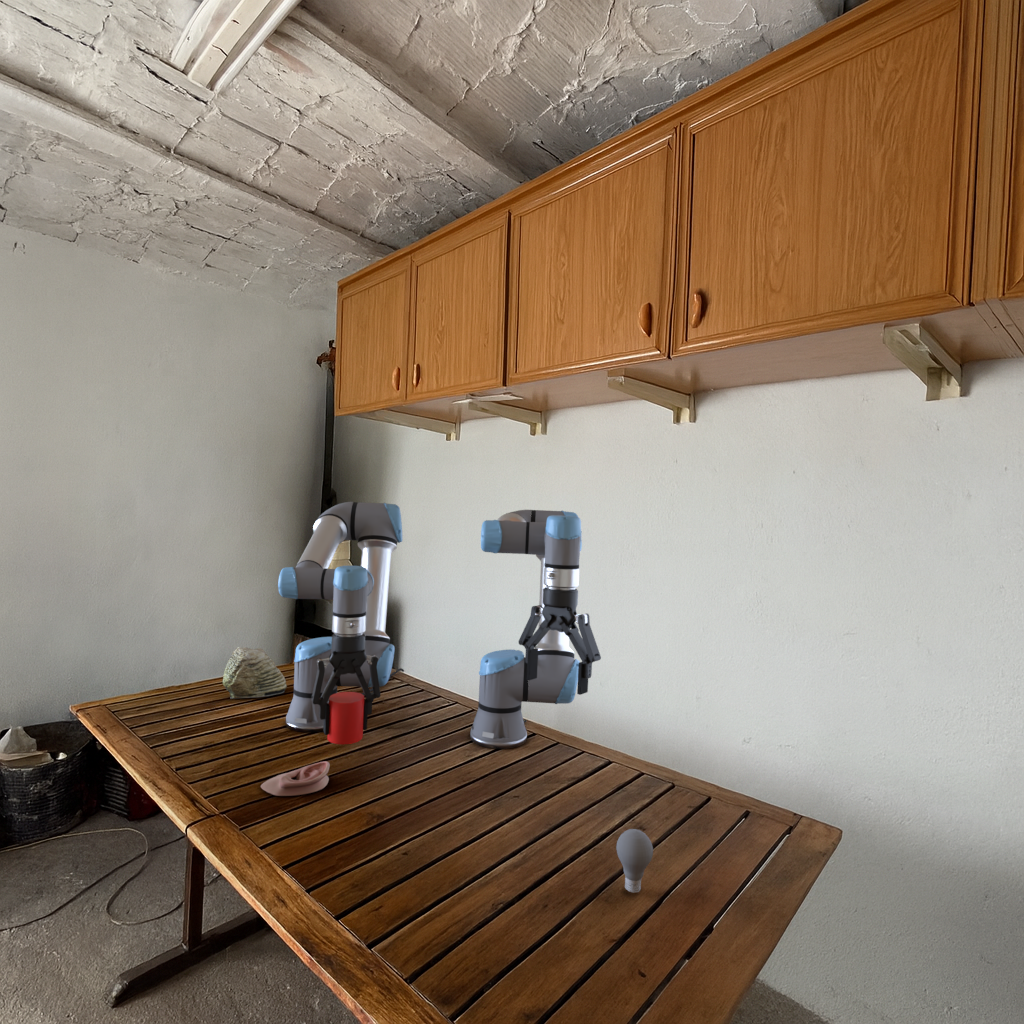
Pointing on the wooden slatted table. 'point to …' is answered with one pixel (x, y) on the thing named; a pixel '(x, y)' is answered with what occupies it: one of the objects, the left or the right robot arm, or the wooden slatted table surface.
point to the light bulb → (634, 857)
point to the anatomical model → (299, 780)
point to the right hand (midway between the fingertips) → (556, 685)
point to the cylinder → (346, 717)
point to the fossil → (252, 674)
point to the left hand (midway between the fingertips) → (345, 730)
